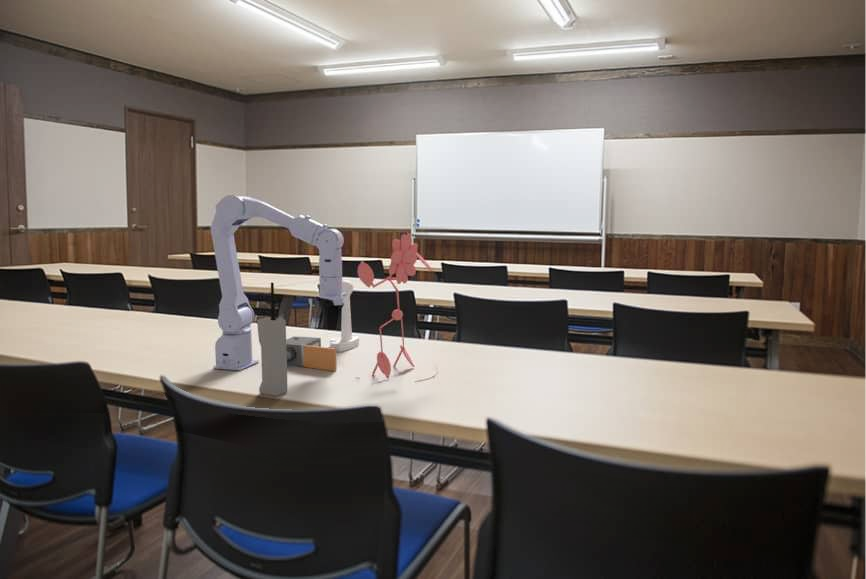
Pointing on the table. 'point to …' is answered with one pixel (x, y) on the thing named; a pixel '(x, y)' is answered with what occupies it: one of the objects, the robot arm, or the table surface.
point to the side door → (319, 357)
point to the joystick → (345, 323)
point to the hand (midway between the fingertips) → (331, 329)
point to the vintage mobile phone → (273, 353)
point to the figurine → (403, 267)
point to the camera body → (298, 348)
